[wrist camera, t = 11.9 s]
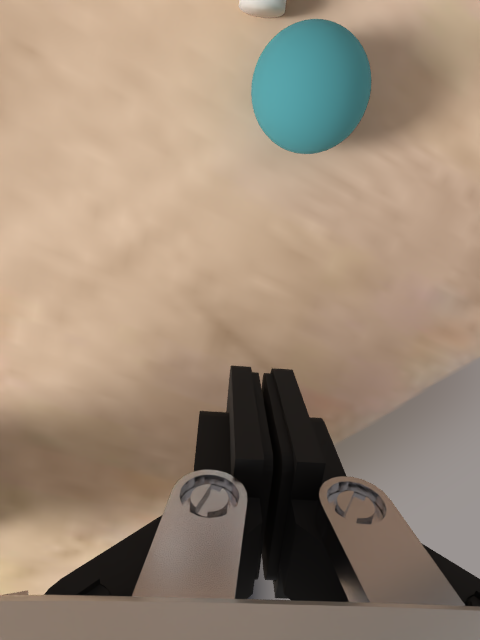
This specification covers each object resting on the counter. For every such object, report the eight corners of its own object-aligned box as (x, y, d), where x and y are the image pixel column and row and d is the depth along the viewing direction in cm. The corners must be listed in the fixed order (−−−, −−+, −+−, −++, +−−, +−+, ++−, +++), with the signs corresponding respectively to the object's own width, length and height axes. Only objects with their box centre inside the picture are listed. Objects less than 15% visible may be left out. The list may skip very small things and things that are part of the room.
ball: (354, 36, 23) (296, 136, 27) (271, -23, 20) (216, 101, 23) (419, 78, 20) (343, 188, 23) (331, 16, 16) (257, 155, 20)
